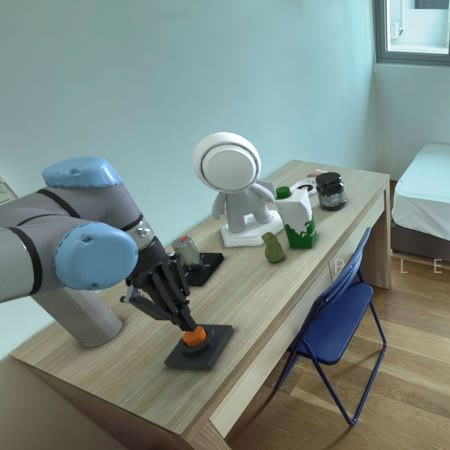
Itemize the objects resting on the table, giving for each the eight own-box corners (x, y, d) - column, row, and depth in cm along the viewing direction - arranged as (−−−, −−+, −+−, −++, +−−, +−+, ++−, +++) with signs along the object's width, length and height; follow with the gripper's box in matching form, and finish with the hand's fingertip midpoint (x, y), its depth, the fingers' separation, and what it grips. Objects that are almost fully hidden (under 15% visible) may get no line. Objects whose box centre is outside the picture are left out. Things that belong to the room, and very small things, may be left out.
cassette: (254, 195, 131) (248, 179, 126) (257, 193, 132) (252, 177, 128) (276, 200, 127) (271, 183, 122) (279, 198, 128) (274, 181, 124)
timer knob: (197, 271, 89) (183, 246, 84) (181, 271, 90) (166, 246, 84) (207, 259, 93) (194, 235, 88) (192, 259, 94) (178, 235, 88)
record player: (333, 173, 139) (304, 193, 124) (334, 179, 140) (305, 200, 126) (313, 168, 143) (282, 188, 129) (314, 175, 145) (284, 194, 131)
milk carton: (294, 234, 107) (279, 182, 95) (320, 233, 106) (308, 181, 95) (286, 250, 100) (269, 196, 88) (314, 249, 99) (300, 196, 88)
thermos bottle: (75, 340, 74) (-21, 251, 58) (111, 315, 80) (34, 229, 64) (92, 352, 71) (-3, 262, 55) (129, 326, 77) (52, 237, 61)
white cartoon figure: (228, 256, 98) (178, 152, 78) (219, 223, 114) (176, 129, 94) (290, 235, 106) (260, 135, 86) (273, 206, 123) (244, 117, 102)
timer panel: (202, 286, 88) (198, 280, 86) (169, 285, 88) (165, 279, 87) (224, 258, 97) (221, 252, 96) (194, 258, 98) (191, 251, 97)
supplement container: (330, 195, 128) (325, 169, 121) (351, 200, 124) (347, 173, 117) (314, 208, 120) (307, 180, 113) (336, 213, 116) (331, 185, 110)
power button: (199, 347, 67) (195, 341, 66) (182, 346, 68) (178, 341, 67) (210, 331, 71) (206, 326, 70) (193, 331, 71) (189, 325, 70)
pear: (287, 260, 96) (279, 234, 90) (270, 267, 93) (261, 242, 87) (281, 251, 99) (273, 226, 94) (265, 258, 97) (255, 233, 91)
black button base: (211, 370, 67) (203, 359, 65) (168, 368, 68) (159, 357, 65) (234, 330, 75) (228, 320, 73) (195, 329, 76) (188, 318, 73)
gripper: (121, 271, 48) (187, 356, 62) (176, 223, 59) (222, 305, 72) (77, 270, 49) (152, 355, 62) (139, 223, 59) (192, 304, 73)
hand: (190, 328), depth 67 cm, fingers closed
